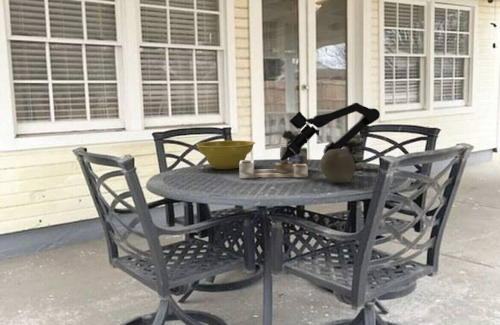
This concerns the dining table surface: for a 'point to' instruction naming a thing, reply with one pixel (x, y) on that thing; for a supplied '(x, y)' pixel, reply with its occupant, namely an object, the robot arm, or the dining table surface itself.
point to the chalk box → (300, 157)
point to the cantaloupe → (338, 165)
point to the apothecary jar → (355, 149)
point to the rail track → (270, 171)
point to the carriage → (284, 161)
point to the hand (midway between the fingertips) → (281, 159)
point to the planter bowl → (225, 153)
